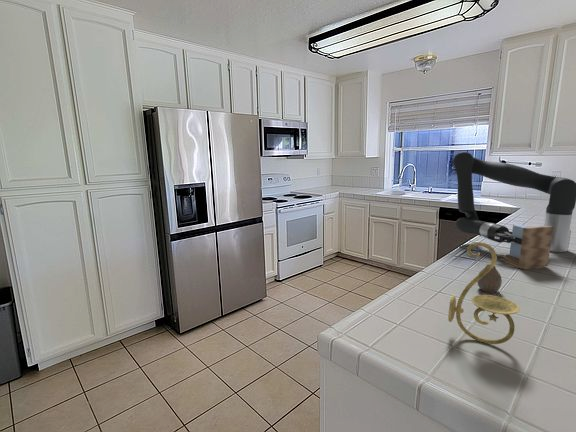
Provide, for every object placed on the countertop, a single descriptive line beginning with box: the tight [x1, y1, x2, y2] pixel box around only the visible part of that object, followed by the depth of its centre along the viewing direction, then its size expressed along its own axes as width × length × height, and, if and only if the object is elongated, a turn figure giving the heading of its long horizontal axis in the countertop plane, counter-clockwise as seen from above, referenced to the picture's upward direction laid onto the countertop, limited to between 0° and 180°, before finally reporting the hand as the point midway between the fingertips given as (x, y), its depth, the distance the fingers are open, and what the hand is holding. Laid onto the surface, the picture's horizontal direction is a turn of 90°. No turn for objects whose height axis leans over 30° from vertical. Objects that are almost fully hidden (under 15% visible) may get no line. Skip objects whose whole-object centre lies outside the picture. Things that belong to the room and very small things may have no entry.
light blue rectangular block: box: [508, 224, 528, 259], centre depth 131 cm, size 3×7×13 cm, turn 10°
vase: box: [476, 264, 503, 294], centre depth 106 cm, size 7×7×9 cm
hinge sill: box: [499, 225, 553, 270], centre depth 130 cm, size 12×12×17 cm
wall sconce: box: [447, 241, 520, 345], centre depth 76 cm, size 14×10×25 cm
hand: (528, 242), depth 128 cm, fingers closed on light blue rectangular block, 3 cm apart
